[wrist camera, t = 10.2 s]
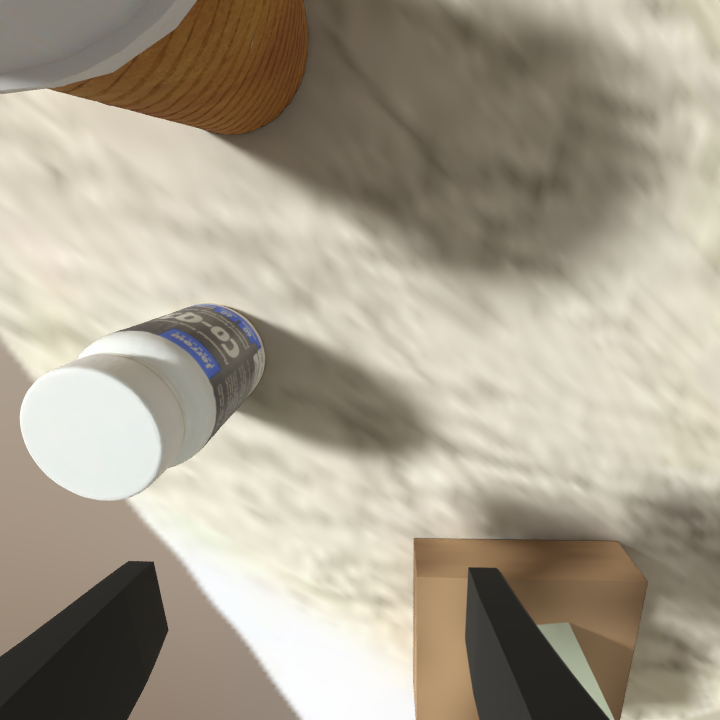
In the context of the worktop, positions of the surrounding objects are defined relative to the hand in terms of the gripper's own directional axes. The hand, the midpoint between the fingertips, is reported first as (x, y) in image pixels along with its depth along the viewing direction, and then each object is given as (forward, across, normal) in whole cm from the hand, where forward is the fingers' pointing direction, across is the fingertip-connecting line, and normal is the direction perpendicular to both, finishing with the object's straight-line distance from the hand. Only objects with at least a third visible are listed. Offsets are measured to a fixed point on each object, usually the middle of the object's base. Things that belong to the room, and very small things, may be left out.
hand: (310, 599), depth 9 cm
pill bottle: (+11, +6, -3) cm, 13 cm away
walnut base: (+10, -8, +12) cm, 18 cm away
